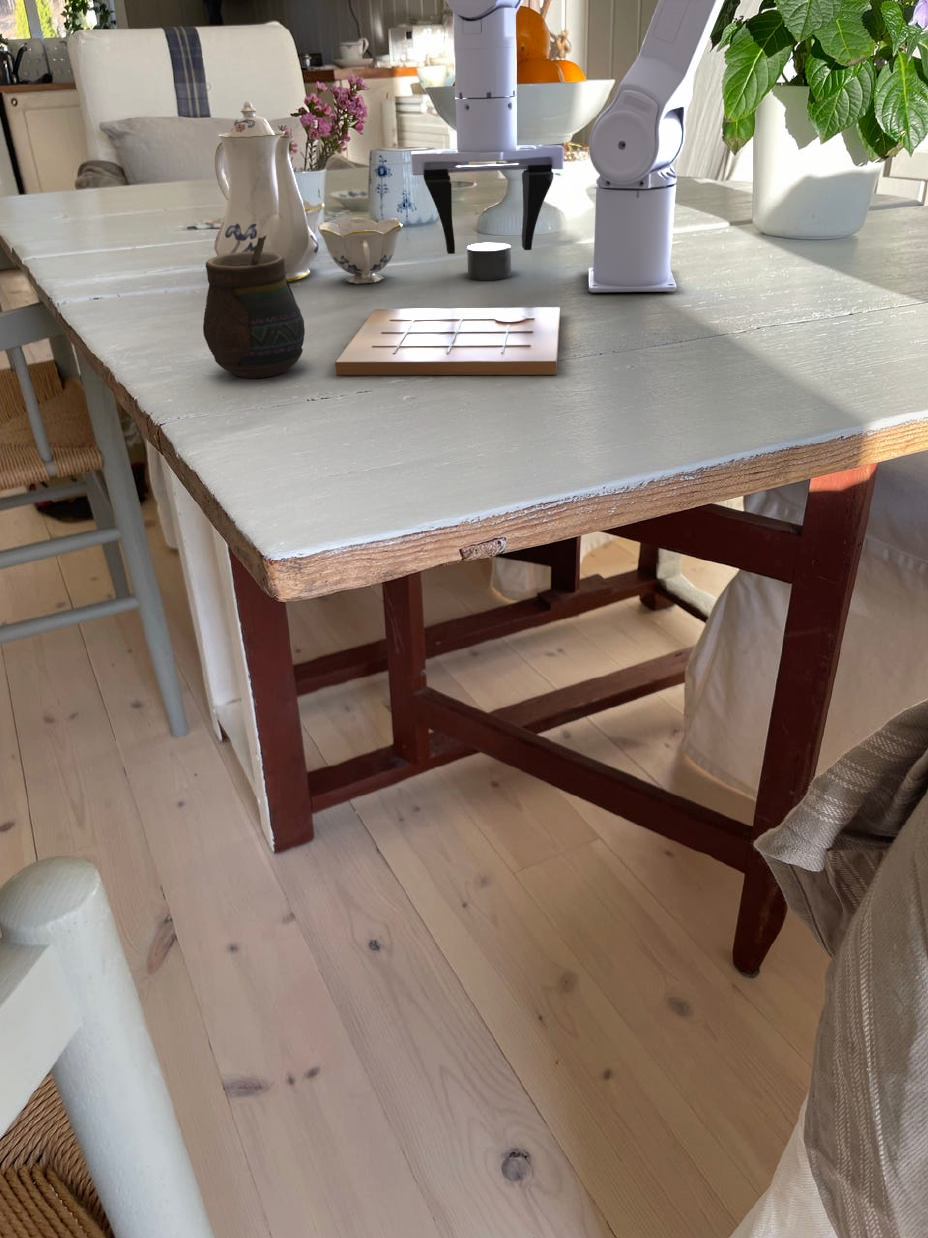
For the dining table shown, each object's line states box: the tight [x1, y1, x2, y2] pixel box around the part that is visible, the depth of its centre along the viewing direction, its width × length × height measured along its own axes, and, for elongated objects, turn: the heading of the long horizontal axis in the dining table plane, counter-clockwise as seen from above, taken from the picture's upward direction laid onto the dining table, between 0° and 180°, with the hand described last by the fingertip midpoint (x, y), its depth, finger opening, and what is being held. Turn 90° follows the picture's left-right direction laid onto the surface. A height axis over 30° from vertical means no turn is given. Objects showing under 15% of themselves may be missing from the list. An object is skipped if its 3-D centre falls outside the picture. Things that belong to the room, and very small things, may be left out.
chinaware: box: [213, 100, 404, 285], centre depth 100 cm, size 28×17×17 cm, turn 40°
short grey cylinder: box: [466, 242, 512, 281], centre depth 98 cm, size 4×4×3 cm
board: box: [334, 306, 561, 376], centre depth 77 cm, size 16×16×1 cm
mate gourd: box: [202, 235, 306, 379], centre depth 70 cm, size 7×8×10 cm
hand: (488, 250), depth 98 cm, fingers open, 7 cm apart
